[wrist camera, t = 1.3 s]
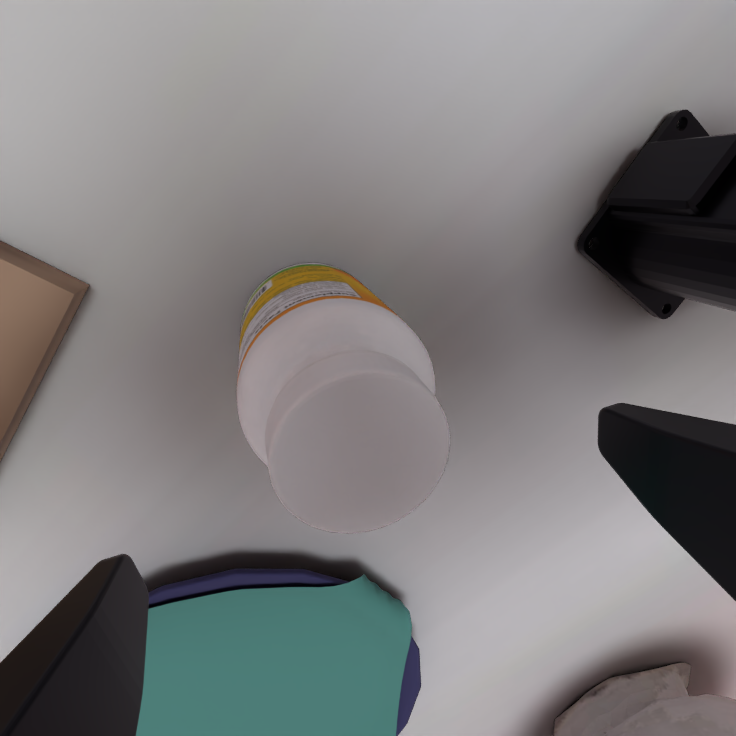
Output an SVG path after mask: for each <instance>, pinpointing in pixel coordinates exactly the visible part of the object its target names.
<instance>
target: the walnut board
mask: <svg viewBox="0 0 736 736" xmlns="http://www.w3.org/2000/svg"><path fill="white" fill-rule="evenodd" d="M88 287H89V285H88V284H86V283H84V282H82V281H80V280H78V279H76V278H74V277H72V276H70V275H68V274H66V273H64V272H62V271H60V270H58V269H56V268H54V267H52V266H50V265H48V264H46V263H44V262H42V261H40V260H38V259H36V258H34V257H32V256H30V255H28V254H26V253H24V252H22V251H20V250H18V249H16V248H14V247H12V246H10V245H8V244H6V243H4V242H2V241H0V461H1V459H2V457H3V455H4V453H5V451H6V449H7V447H8V445H9V443H10V441H11V439H12V437H13V436H14V434H15V432H16V430H17V428H18V426H19V424H20V422H21V420H22V418H23V416H24V414H25V412H26V410H27V408H28V406H29V404H30V402H31V400H32V398H33V396H34V394H35V392H36V390H37V388H38V386H39V384H40V382H41V380H42V378H43V376H44V374H45V372H46V370H47V368H48V366H49V364H50V362H51V360H52V358H53V356H54V354H55V352H56V350H57V348H58V346H59V344H60V342H61V340H62V338H63V336H64V334H65V332H66V330H67V328H68V326H69V324H70V322H71V321H72V319H73V317H74V315H75V313H76V311H77V309H78V307H79V305H80V303H81V301H82V299H83V297H84V295H85V293H86V291H87V289H88Z"/></svg>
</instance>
